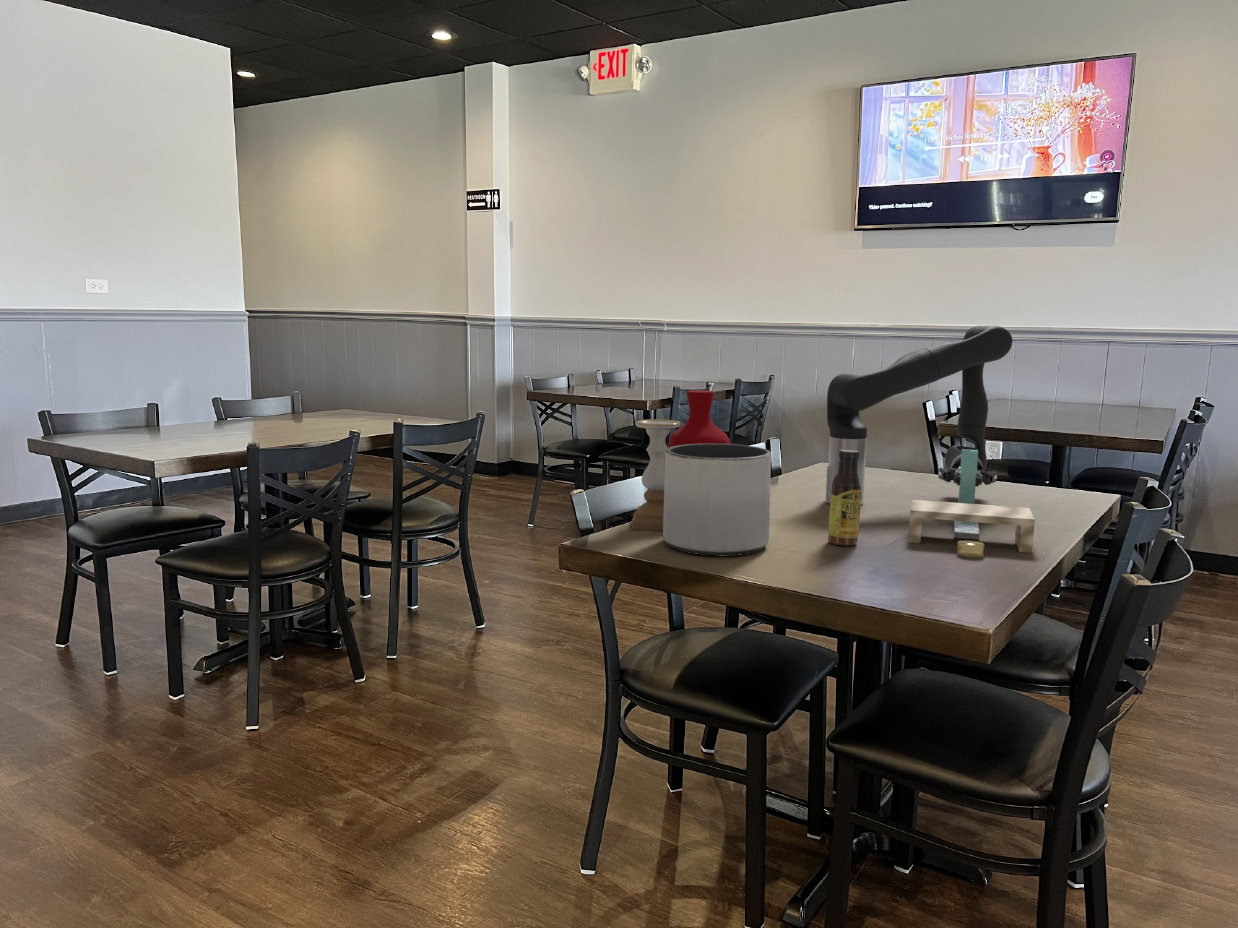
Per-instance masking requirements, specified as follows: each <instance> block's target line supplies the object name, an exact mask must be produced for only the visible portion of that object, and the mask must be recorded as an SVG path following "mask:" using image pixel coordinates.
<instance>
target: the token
mask: <svg viewBox="0 0 1238 928" xmlns="http://www.w3.org/2000/svg"><path fill="white" fill-rule="evenodd" d="M984 554H985V543H983V542H981V541H978V540H977V541H976V540H970V539H964V540H957V549H956V555H957V556H959V557H963V558H968V559H969V558H970V559H981V558H984Z"/></svg>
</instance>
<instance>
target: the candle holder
mask: <svg viewBox="0 0 1238 928" xmlns="http://www.w3.org/2000/svg"><path fill="white" fill-rule="evenodd" d="M635 426H636V427H637V428H642V429H645V431H646V434H647V435H648V437H649V444H648V446H647V448H646V452H647V453H648V456H649V458H650V459H649V460H650V461H649V463H648V465H647V467H646V468H645V470H644V471H643V473H642V476H641V484H642V486H644V487H645V488H646V489H647V490H646V491H645V492H644V493H643V498H644V500H645V501H646V502H645V503H643V504H641V505H640V506H638V507H637V508H636V511H635V512H634V514H633V516H632V519H631V530H636V531H638V530H639V531H661V530H663V514H664V483H665V450H666V449H667V448H668V445H667V443H666V439H667V436H668V435H669V434H670V432H671V429H677V428H681V426H682V425H681V421H679V420H674V419H653V418H652V419H640V420H636V421H635Z"/></svg>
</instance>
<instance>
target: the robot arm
mask: <svg viewBox="0 0 1238 928" xmlns="http://www.w3.org/2000/svg"><path fill="white" fill-rule="evenodd" d="M1012 346H1013V335H1012V334H1011V333H1010V331H1009V330H1007V328H1005V327H1002V326H1000V325H975V326H972V327H970V328H969V329H968V330H967V331H966V333H964V336H963V339H962V340H960V341H954V342H949V343H948V342H946V343H940V344H936V345H935V344H934V345H931V346H925V347H923V348H920V349H916V350H914V351H912V352H909V353H906V354H905V355H903V356H901V357H900V358H898V359H897V360H895V362H893V363H892V364H891V365H889V366H888V367H887V368H884V369H881V370H877V371H875V372H871V373H866V374H853V373H841V374H837V375H836V376H834V377H833V378H832V380H831V381H830V383H829V384H828V389H827V395H826V396H827V397H826V421H827V427H828V430H829V441H828V442H829V447H828V465H827V467H826V480H825V481H826V483H825V504H830V499H831V493H832V482H833V480H834V478H835V476H836V475H837V474H838V472H839V462H840V457H839V451H840V450H856V451H859V458H858V463H857V474H858V478H859V483H860V487H861V490H862V493H861V505H863V504H864V498H865V476H866V461H867V460H866V457H867V455H866V454H867V438H868V437H867V436H868V428H867V426H866V425H865V424H864V422H863V421H862V420H861V417H860V412H861V411H864V410H866V409H870V408H871V407H873V406H875V405H877V404H879V403H881V402H883V401H885V400H888V399H889V398H891V397H894V396H896V395H900V394H903V393H906V392H910V391H912V390H914V389H919V388H921V387H925V386H927V385H929V384H932V383H935V382H937V381H939V380H942V379H944V378H947V377H949V376H952V375H954V374H957V373H960V372H961V373H962V374H961V375H962V377H961V379H962V381H961V385H962V386H961V401H960V408H959V414H958V421H957V426H956V433H957V436H959V437H962V438H965V439H968V440H970V441H972V442H973V443H974V447H971V446H970V447H969V446H965V445H964V446H963V445H951V446H950V447H949V448H947V450H946V452H945V455H944V463H945V467H946V468H944V467H939V468H938V475H937V476H938V477H937V478H938V479H939V480H941V481H944V482H947V483H951V482H953V483H954V484H956V486H959V485H960V478H961V476H960V469H961V455H962V449H971V450H978V461H977V474H976V485H975V486H976V487H980V486H983V484H984V485H986V486H989V485H992V484H994V483H996V482H997V478H998V471H997V470H992V471H986V468H987V464H988V458H987V452H986V445H985V444H986V443H985V435H986V434H985V433H986V426H987V420H988V413H989V403H988V397H987V393H986V390H985V386H984V377H983V376H984V367H985V364H987V363H991V362H996V361H998V360H1001V359H1002V358H1004V357H1005V356H1007V355H1008V353H1009V352H1010V351H1011V349H1012Z"/></svg>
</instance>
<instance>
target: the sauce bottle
mask: <svg viewBox="0 0 1238 928" xmlns="http://www.w3.org/2000/svg"><path fill="white" fill-rule="evenodd" d="M839 457H840V462H839V472H838V474H837V475H836V476H835V478H834V480H833V482H832V493H831V499H830V503H829V514H828V527H827V529H828V530H827V534H828V537H827V542H828V543H830V544H832V545H836V546H846V547H847V546H848V547H849V546H853V545H857V543H858V537H859V531H860V530H859V529H860V520H861V519H860V517H861V505H862V504H861V493H862V490H861V487H860V483H859V478H858V474H857V463H858V458H859V451H856V450H840V451H839Z"/></svg>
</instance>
